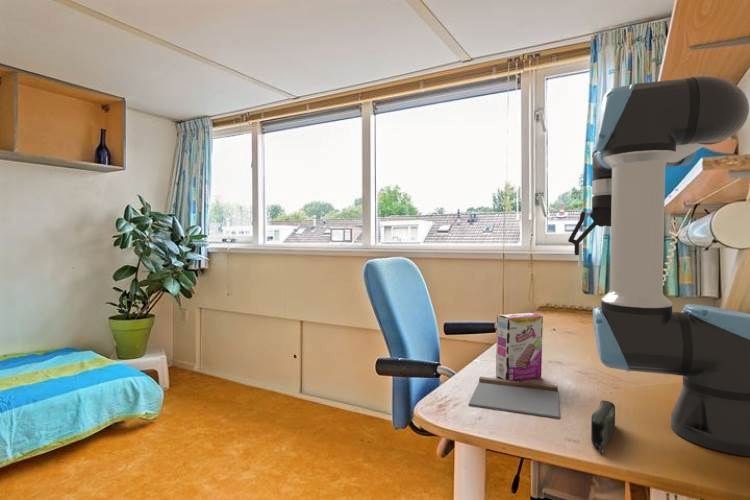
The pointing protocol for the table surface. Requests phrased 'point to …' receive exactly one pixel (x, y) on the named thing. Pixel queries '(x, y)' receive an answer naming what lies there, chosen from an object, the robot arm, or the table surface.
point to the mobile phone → (602, 424)
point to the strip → (519, 384)
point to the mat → (516, 399)
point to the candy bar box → (519, 346)
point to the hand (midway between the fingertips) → (605, 266)
